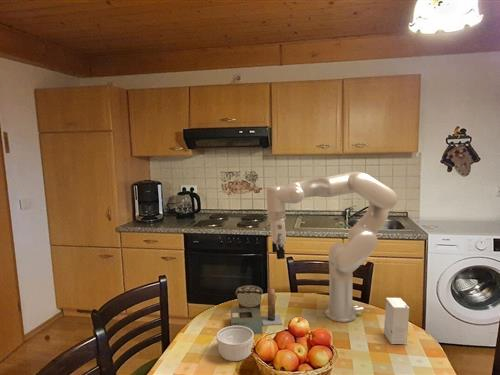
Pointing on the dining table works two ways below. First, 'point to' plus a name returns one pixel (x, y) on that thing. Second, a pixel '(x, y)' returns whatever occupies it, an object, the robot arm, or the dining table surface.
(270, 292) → the brown upright bar
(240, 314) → the switch box
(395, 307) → the skincare box
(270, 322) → the rest mat
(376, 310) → the dining table surface
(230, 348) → the ramekin
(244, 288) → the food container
